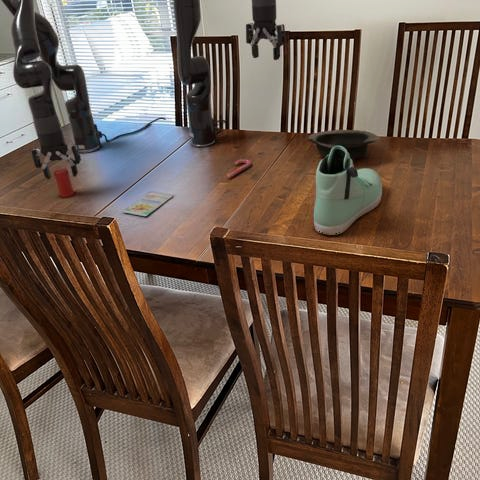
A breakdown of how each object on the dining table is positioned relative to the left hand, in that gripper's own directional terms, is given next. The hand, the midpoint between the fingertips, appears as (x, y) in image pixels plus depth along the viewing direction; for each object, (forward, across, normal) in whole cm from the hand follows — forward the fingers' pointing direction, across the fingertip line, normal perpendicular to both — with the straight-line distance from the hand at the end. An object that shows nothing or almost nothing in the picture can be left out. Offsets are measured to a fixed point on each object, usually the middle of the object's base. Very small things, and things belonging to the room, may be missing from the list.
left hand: (62, 177), depth 158 cm
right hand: (-29, +71, +12) cm, 77 cm away
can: (+6, 0, 0) cm, 6 cm away
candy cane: (+6, +58, +4) cm, 59 cm away
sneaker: (+6, +87, -32) cm, 93 cm away
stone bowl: (+6, +96, +8) cm, 97 cm away
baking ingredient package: (+6, +28, -14) cm, 32 cm away
